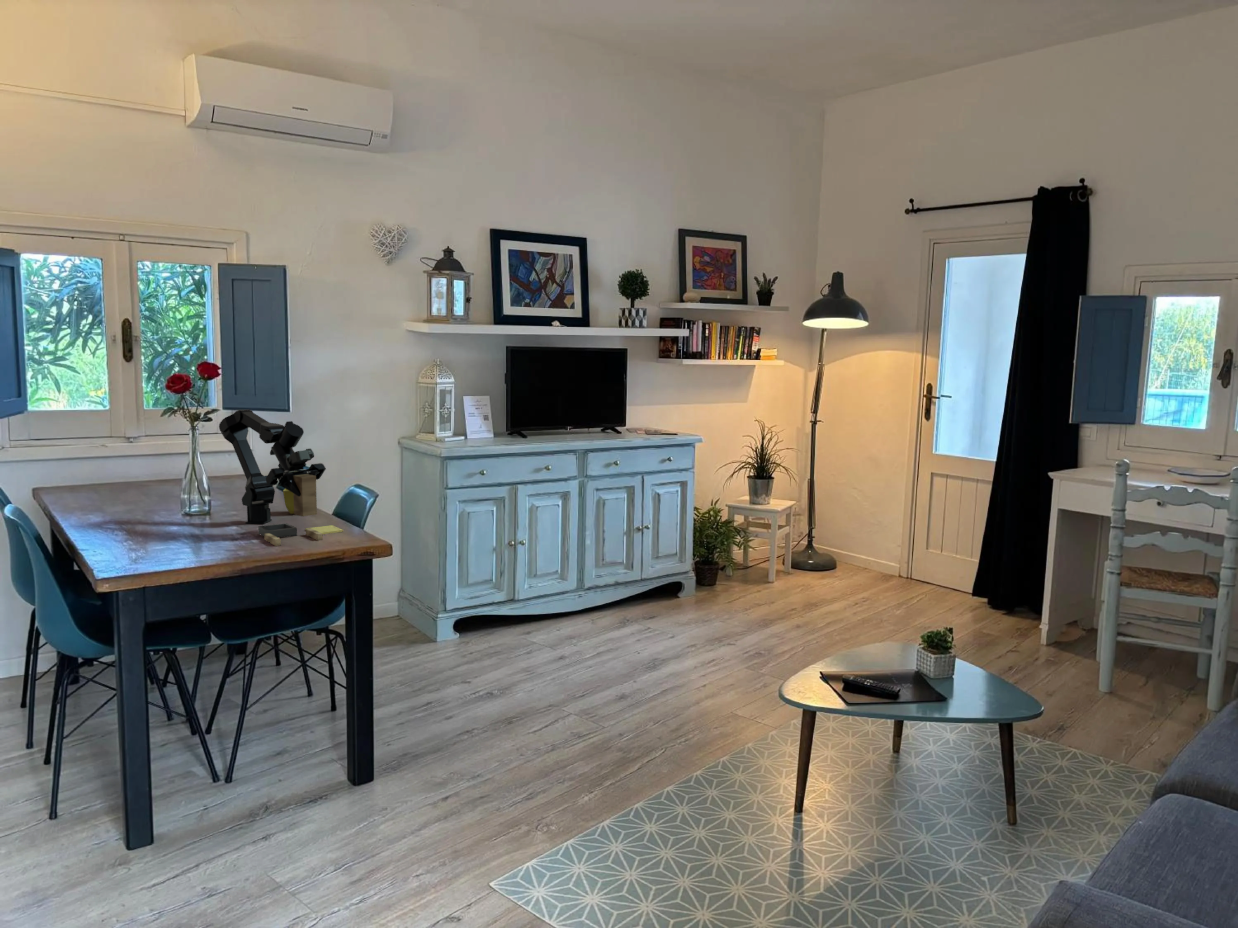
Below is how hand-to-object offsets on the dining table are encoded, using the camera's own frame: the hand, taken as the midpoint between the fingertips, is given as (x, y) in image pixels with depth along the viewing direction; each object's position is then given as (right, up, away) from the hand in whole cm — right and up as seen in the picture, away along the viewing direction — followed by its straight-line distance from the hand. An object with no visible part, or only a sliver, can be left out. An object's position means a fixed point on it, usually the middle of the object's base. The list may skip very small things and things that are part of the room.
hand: (307, 494), depth 285 cm
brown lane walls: (-2, -14, -6) cm, 15 cm away
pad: (+3, -12, +8) cm, 15 cm away
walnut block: (-1, -6, +2) cm, 7 cm away
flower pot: (-16, -8, +37) cm, 41 cm away
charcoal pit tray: (-10, -13, +1) cm, 16 cm away
